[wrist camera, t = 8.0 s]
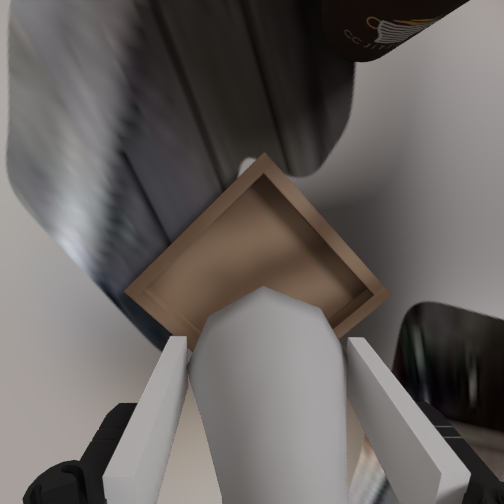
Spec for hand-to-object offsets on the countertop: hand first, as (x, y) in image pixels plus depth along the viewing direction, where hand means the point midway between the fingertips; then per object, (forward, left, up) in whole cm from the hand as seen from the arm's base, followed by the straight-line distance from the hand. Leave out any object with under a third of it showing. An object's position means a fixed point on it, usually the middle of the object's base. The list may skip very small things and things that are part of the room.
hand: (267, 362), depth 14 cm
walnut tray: (0, 0, -12) cm, 12 cm away
